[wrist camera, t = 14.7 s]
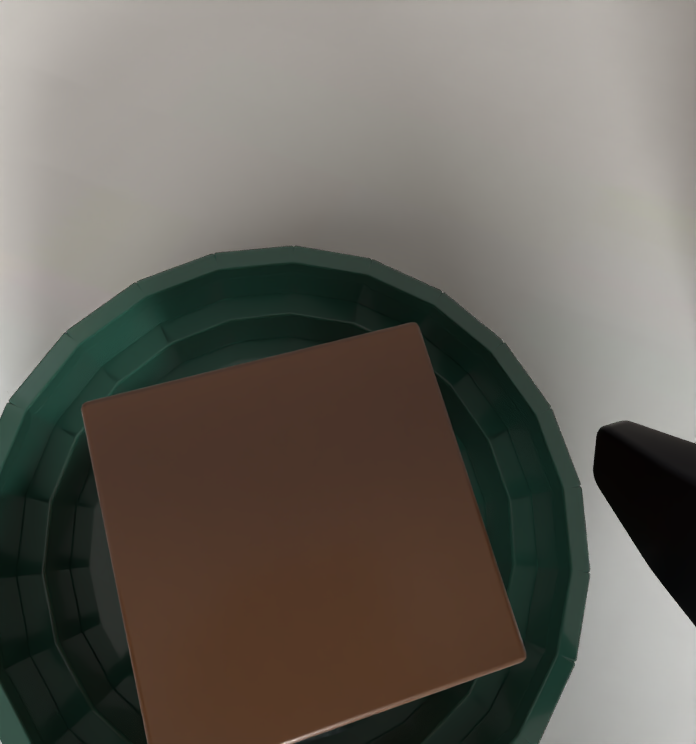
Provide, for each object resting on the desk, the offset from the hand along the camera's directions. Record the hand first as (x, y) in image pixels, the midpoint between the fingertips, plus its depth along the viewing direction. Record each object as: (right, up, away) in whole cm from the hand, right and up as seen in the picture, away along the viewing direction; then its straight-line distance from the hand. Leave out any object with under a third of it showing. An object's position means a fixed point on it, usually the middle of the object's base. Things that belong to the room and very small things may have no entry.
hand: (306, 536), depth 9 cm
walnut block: (-1, -2, +10) cm, 10 cm away
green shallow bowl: (-1, -3, +10) cm, 10 cm away
